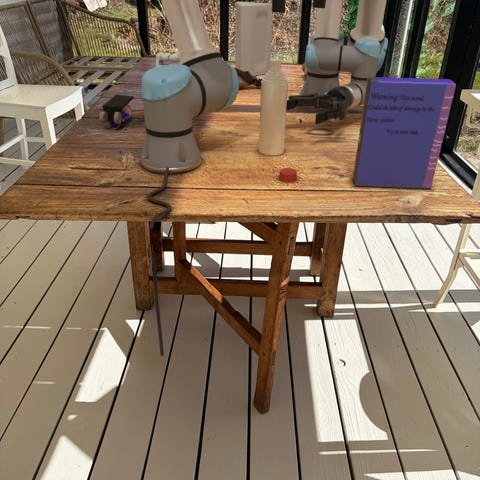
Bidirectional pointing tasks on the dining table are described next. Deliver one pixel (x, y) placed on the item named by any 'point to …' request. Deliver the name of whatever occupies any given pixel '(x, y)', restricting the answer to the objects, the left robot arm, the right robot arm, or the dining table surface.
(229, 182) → the dining table surface
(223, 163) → the dining table surface
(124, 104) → the figurine character
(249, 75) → the figurine
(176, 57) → the toy
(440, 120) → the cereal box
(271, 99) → the bottle
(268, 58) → the tall white box
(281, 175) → the cap
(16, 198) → the dining table surface
